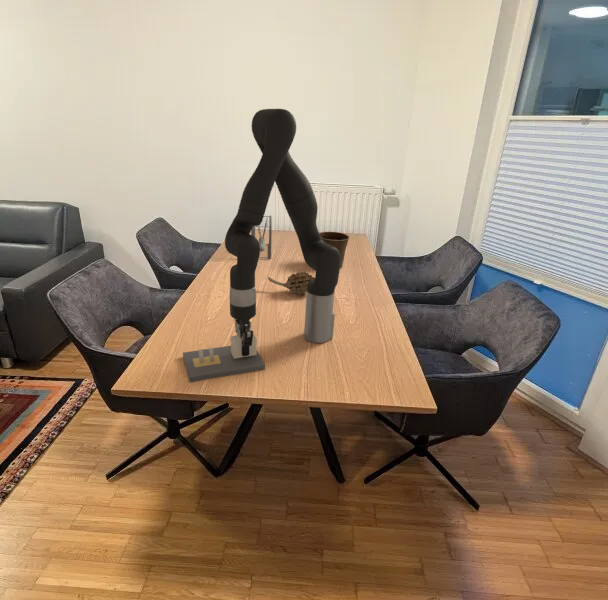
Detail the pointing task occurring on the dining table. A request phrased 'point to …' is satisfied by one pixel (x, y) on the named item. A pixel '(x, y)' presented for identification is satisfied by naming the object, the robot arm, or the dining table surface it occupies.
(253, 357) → the board
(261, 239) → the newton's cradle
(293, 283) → the pine cone
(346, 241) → the plant pot
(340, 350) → the dining table surface
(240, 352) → the block
